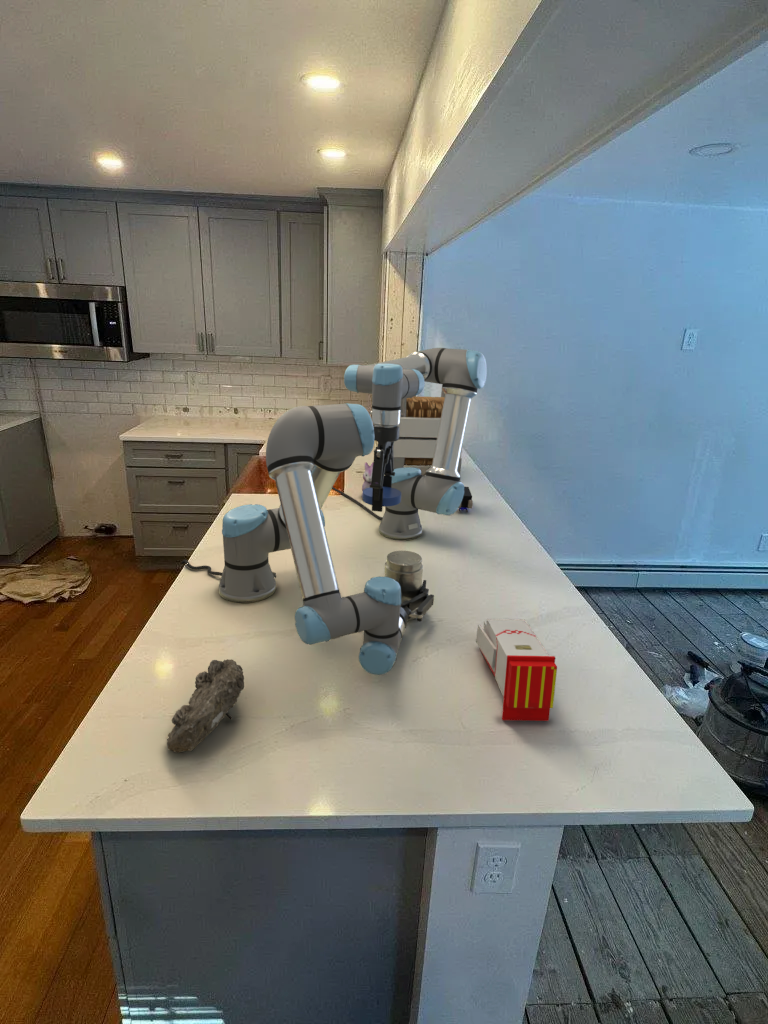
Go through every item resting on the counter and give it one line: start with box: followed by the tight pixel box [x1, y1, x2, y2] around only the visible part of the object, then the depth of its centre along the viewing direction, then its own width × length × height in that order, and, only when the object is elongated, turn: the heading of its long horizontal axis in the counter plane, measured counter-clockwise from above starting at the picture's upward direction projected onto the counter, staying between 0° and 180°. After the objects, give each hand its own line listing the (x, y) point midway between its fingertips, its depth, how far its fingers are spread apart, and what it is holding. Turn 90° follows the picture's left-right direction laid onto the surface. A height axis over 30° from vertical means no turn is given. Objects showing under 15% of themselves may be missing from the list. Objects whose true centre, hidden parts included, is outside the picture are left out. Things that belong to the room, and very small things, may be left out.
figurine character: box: [458, 486, 474, 513], centre depth 227 cm, size 7×8×15 cm
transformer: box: [393, 389, 463, 476], centre depth 268 cm, size 34×33×41 cm
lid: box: [362, 487, 401, 508], centre depth 155 cm, size 11×11×2 cm
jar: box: [383, 550, 424, 621], centre depth 146 cm, size 10×10×16 cm
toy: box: [475, 618, 558, 722], centre depth 122 cm, size 12×13×30 cm
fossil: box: [166, 658, 245, 754], centre depth 106 cm, size 22×10×15 cm
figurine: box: [361, 461, 373, 499], centre depth 234 cm, size 9×10×15 cm
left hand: (405, 582), depth 151 cm, fingers closed on jar, 10 cm apart
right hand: (381, 504), depth 156 cm, fingers closed on lid, 10 cm apart
